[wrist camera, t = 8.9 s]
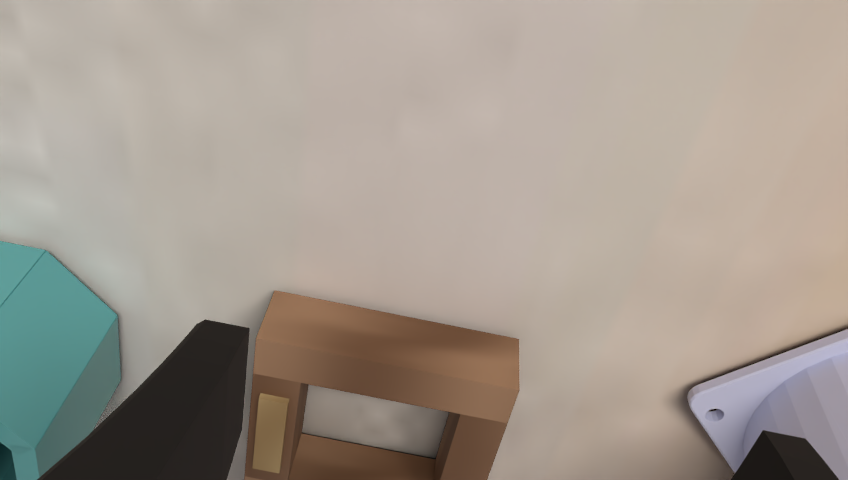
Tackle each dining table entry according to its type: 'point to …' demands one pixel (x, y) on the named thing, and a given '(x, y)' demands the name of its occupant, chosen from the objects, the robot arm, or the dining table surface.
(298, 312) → the block
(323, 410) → the dining table surface
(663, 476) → the dining table surface
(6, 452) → the cup
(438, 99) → the dining table surface
